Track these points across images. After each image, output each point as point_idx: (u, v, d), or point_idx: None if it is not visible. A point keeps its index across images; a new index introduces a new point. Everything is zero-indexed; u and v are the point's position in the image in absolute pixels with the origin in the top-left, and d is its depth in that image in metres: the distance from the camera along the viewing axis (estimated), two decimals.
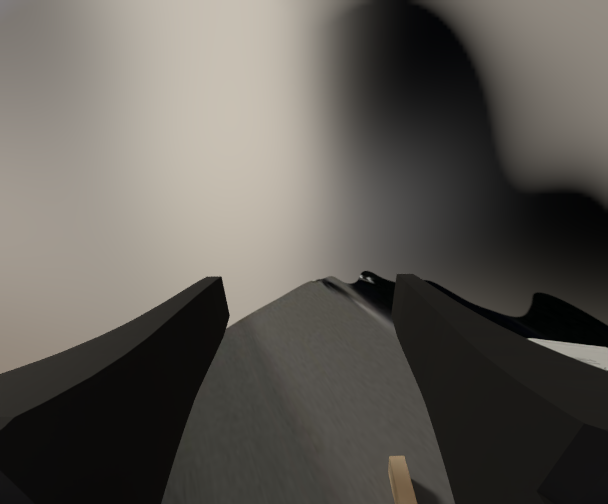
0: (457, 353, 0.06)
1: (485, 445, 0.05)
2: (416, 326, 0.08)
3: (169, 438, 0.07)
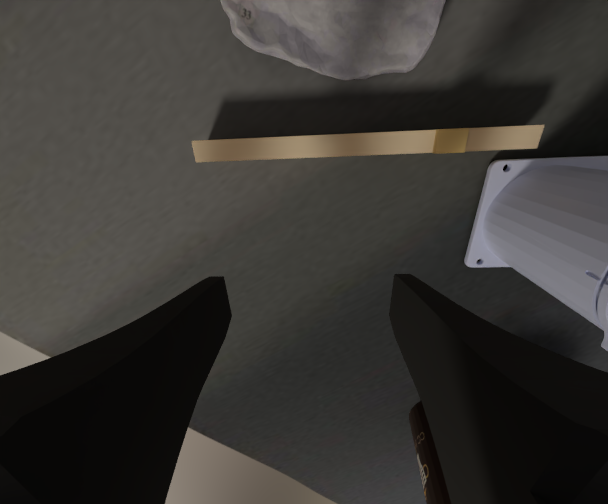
0: (453, 353, 0.06)
1: (480, 445, 0.05)
2: (413, 326, 0.08)
3: (172, 438, 0.07)
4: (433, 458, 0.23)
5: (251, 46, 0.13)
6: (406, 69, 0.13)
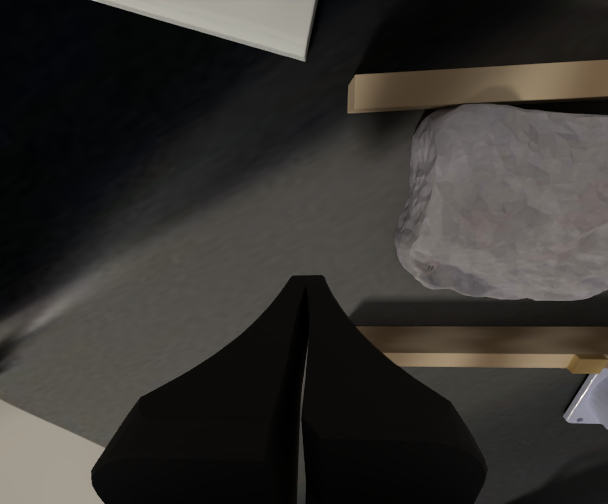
0: None
1: None
2: None
3: (296, 441, 0.07)
4: None
5: (426, 286, 0.14)
6: None
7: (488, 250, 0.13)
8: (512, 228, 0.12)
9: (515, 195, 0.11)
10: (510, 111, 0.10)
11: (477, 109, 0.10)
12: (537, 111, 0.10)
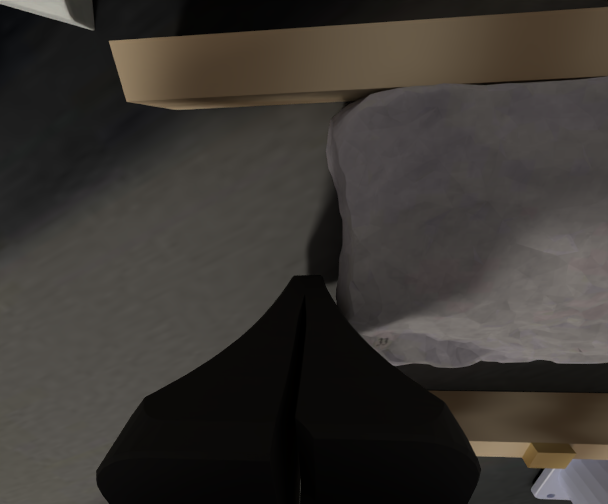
0: None
1: None
2: (306, 326, 0.08)
3: None
4: None
5: None
6: None
7: (466, 315, 0.08)
8: (497, 283, 0.07)
9: (494, 233, 0.07)
10: (454, 94, 0.05)
11: (392, 99, 0.05)
12: (508, 85, 0.05)
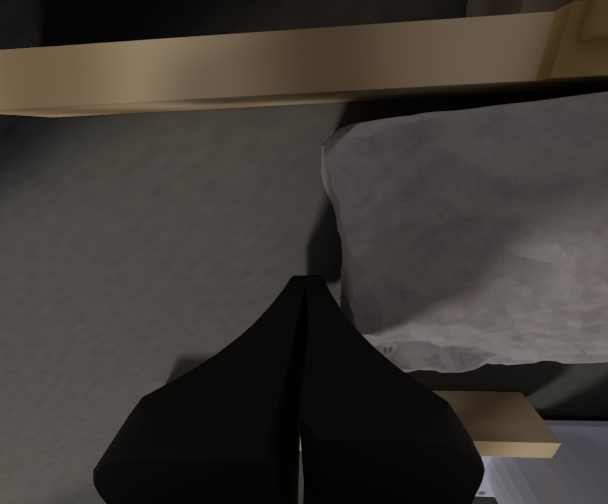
0: None
1: None
2: None
3: (297, 441, 0.07)
4: None
5: None
6: None
7: (465, 323, 0.08)
8: (492, 291, 0.07)
9: (484, 246, 0.07)
10: (434, 121, 0.06)
11: (376, 130, 0.06)
12: (486, 109, 0.06)
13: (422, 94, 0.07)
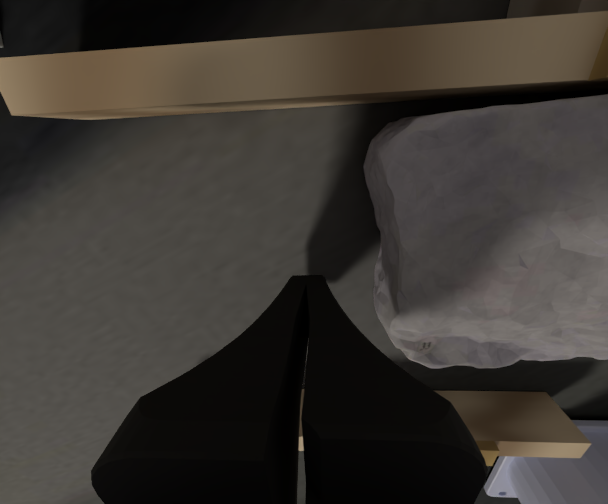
0: None
1: None
2: None
3: (296, 441, 0.07)
4: None
5: (427, 366, 0.10)
6: None
7: (510, 318, 0.08)
8: (542, 286, 0.07)
9: (539, 240, 0.07)
10: (501, 115, 0.06)
11: (441, 123, 0.06)
12: (551, 103, 0.06)
13: (464, 94, 0.07)
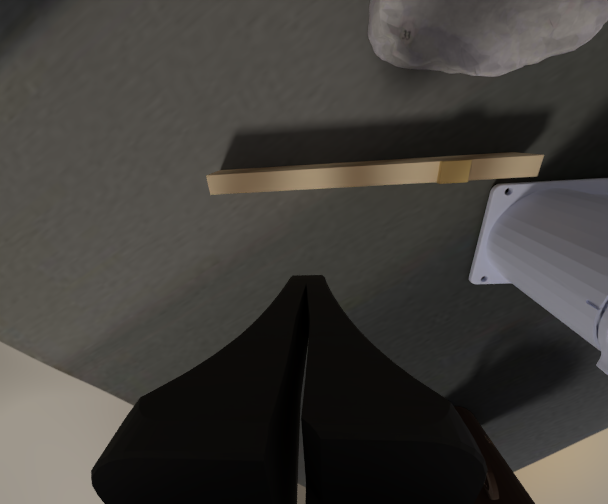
0: None
1: None
2: None
3: (296, 441, 0.07)
4: None
5: (408, 65, 0.13)
6: (573, 49, 0.13)
7: None
8: None
9: None
10: None
11: None
12: None
13: None
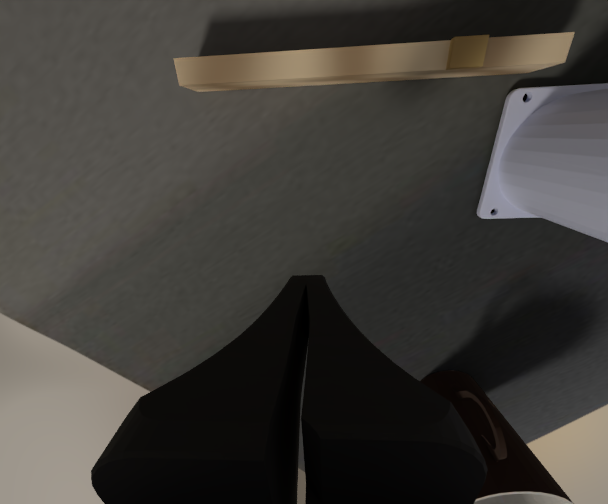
0: None
1: None
2: None
3: (296, 441, 0.07)
4: None
5: None
6: None
7: None
8: None
9: None
10: None
11: None
12: None
13: None
